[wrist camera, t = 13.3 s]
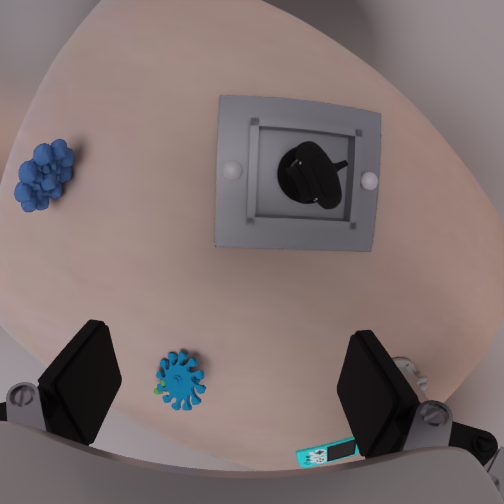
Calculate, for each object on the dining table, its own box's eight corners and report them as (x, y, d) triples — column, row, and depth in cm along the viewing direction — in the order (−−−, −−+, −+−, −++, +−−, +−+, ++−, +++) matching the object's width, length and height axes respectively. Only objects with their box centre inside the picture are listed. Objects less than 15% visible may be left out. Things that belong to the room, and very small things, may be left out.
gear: (190, 343, 40) (208, 405, 35) (211, 345, 45) (229, 400, 40) (144, 362, 43) (158, 416, 38) (166, 363, 48) (180, 412, 43)
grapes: (71, 128, 32) (20, 120, 20) (97, 151, 33) (47, 148, 22) (38, 190, 34) (-12, 200, 22) (61, 214, 35) (12, 231, 24)
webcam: (266, 159, 34) (274, 153, 24) (318, 136, 33) (344, 124, 23) (292, 213, 36) (309, 229, 26) (341, 190, 35) (374, 198, 25)
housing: (377, 114, 33) (389, 110, 29) (368, 250, 38) (378, 257, 35) (220, 97, 32) (218, 90, 29) (215, 244, 38) (213, 252, 34)
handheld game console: (295, 448, 52) (296, 453, 51) (360, 432, 52) (361, 436, 51) (299, 465, 55) (299, 469, 54) (357, 450, 55) (359, 454, 53)
